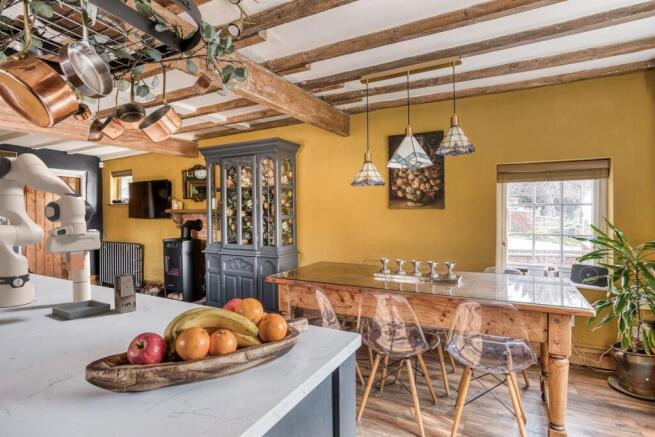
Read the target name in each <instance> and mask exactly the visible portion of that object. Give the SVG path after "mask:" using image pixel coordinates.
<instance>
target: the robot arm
mask: <svg viewBox="0 0 655 437" xmlns="http://www.w3.org/2000/svg"><path fill="white" fill-rule="evenodd" d="M24 185H25V186H28V188H30V189H32V190H35V191H37V192H44V193H49V194H53V195H56V196H59V197H60V198H58V199H56V200H52V201H50V202H48V203H47V204H46V206H45V207H44V216H45V218H46V219H47V220H48V221H49V222H51V223H60V226H59V227H55V228H52V229H49V230H47V234H48V236H47V237H46V240H45V244H44V245H45V247H44V248H45V249H44V250H45V252H46V253H47V254H59V255H60V257H61V258H62V259H63V263H65V264H66V263H68V262H69V258H66V252H72V251H84V261H85V260H86V256H87V254H88V251H90V250H91V251H94V250H99V249H100V248H101V246H102V245H101V238H100V237H101V236H100V235H101V233H100V231H99V230H98V229H95V228H94V229H89V228H88V229H87V223H88V221H90V220H91V219H92V218H93V215H94V208H93V206H92V204H90V202H88V200H85V198H84V195H83V194H80V193H78V192H77V191H76V190H75V189H74V188H72V186H71V185H70V184H69V183H67V182H66V181H65V180H63V179H61V178H60V177H59V176H58V175H56V174H55V173H54V172H52V171H51V170H50V169H49V168H48V166H47V165H46V163H45V162H44V161H43V160H42V159H41V158H40V157H39V156H37V155H36V154H34V153H28V152H27V153H22V154H19V155H18V156H17V157H14V156H13V157H12V156H11V157H10V156H1V155H0V217H3V218H4V219H7V220H8V221H9V222H10V224H0V308H9V307H10V308H11V307H18V306H22V305H26V304H30V303H33V302H35V301H38V300H39V297H37V296H35V289H34V284H33V283H32V282H30V279H31V278H30V277H31V276H30V273H29V264H28V263H29V260H28V258H27V257H26V256H25V255H23V254H20V253H17V252H15V251H14V249H13V248H14V247H15V248H16V247H26V246H27V247H28V246H33V245H38V244H40V243H42V242H43V240H44V239H45V238H44V237H45V231H44V229H43V227H42V226H41V225H39V224H38V223H36V222H35V221H33V220H32V219H31V217H30V216H29V215H28V213H27V211H26V205H25V195H24V188H23V186H24Z"/></svg>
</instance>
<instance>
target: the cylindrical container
mask: <svg viewBox="0 0 655 437" xmlns="http://www.w3.org/2000/svg"><path fill="white" fill-rule="evenodd" d="M90 255H91V254H90V250H88V254H87V256H86V260H85V261H84V270H76V271H71V272H72V274H71V275H72V301H73V302H72V303H77V302H82V301H87V300H92V290H91V286H92V285H91V262H90V261H91V257H90Z"/></svg>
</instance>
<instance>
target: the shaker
mask: <svg viewBox="0 0 655 437" xmlns="http://www.w3.org/2000/svg"><path fill="white" fill-rule="evenodd" d="M65 256H66V258H69V262H68V263H65V271H69V272H72V271H76V270H84V251H72V252H66V255H65Z"/></svg>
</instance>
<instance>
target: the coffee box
mask: <svg viewBox="0 0 655 437" xmlns="http://www.w3.org/2000/svg"><path fill="white" fill-rule="evenodd" d="M136 286H137V285H136V274H133V273H129V272H126V273H120V274H113V290H114V291H113V292H114V311H116V312H118V313H120V314H125V313H129V312H131V313H132V312H135V311H137V303H136V302H137V298H136V297H137V295H136V290H137V288H136Z"/></svg>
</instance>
